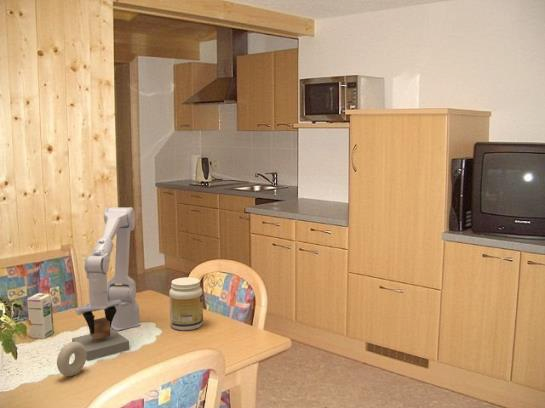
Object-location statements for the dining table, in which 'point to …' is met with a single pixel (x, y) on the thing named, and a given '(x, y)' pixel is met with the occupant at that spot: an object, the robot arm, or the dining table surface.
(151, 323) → the dining table surface
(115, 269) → the robot arm
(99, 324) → the walnut block
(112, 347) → the slate plinth
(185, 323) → the supplement tub
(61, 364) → the donut
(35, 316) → the syrup box
